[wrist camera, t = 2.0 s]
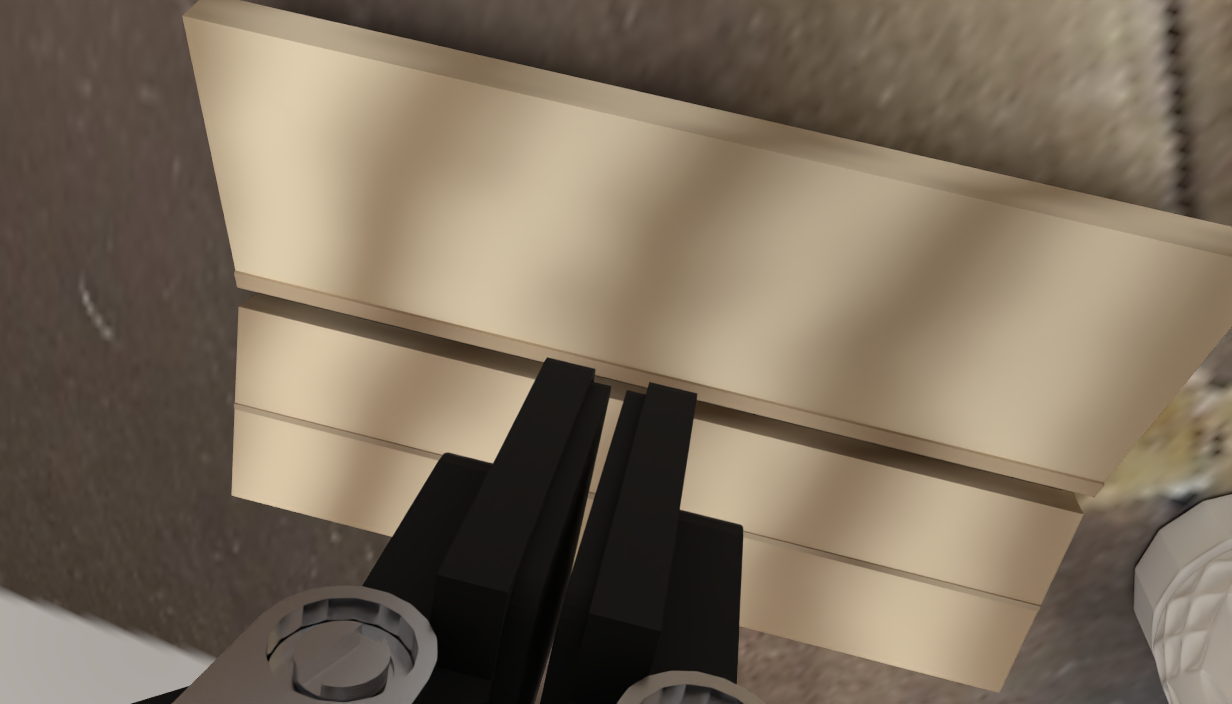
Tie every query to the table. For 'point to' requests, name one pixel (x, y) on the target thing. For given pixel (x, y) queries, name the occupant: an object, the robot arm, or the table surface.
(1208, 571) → the white cup
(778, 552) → the laid board
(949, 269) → the plank
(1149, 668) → the table surface
